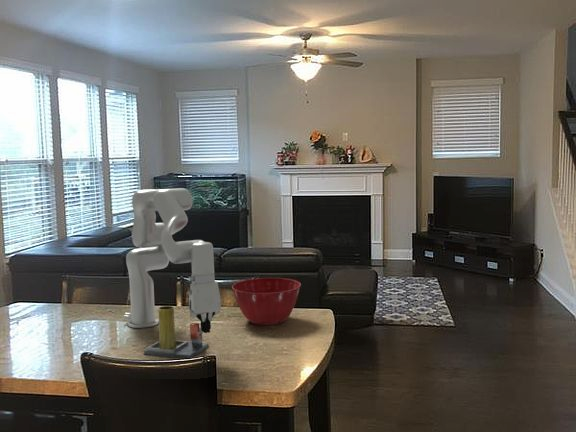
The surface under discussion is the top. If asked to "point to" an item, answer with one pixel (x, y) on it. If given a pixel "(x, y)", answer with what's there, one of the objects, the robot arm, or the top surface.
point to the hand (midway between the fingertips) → (206, 331)
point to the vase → (166, 328)
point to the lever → (195, 331)
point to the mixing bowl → (266, 299)
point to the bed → (178, 349)
